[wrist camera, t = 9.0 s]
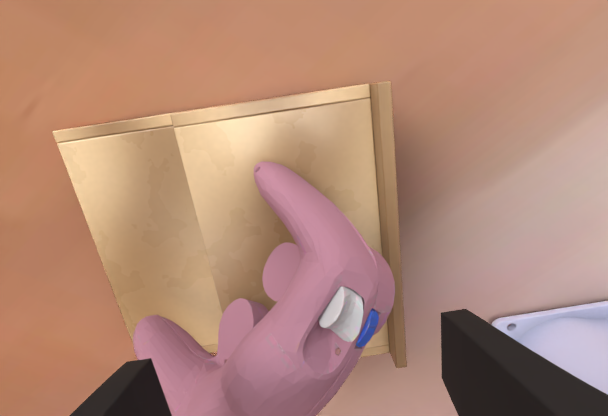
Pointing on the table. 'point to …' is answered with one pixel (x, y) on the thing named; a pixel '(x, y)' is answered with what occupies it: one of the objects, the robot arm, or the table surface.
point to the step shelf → (231, 199)
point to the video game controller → (281, 318)
